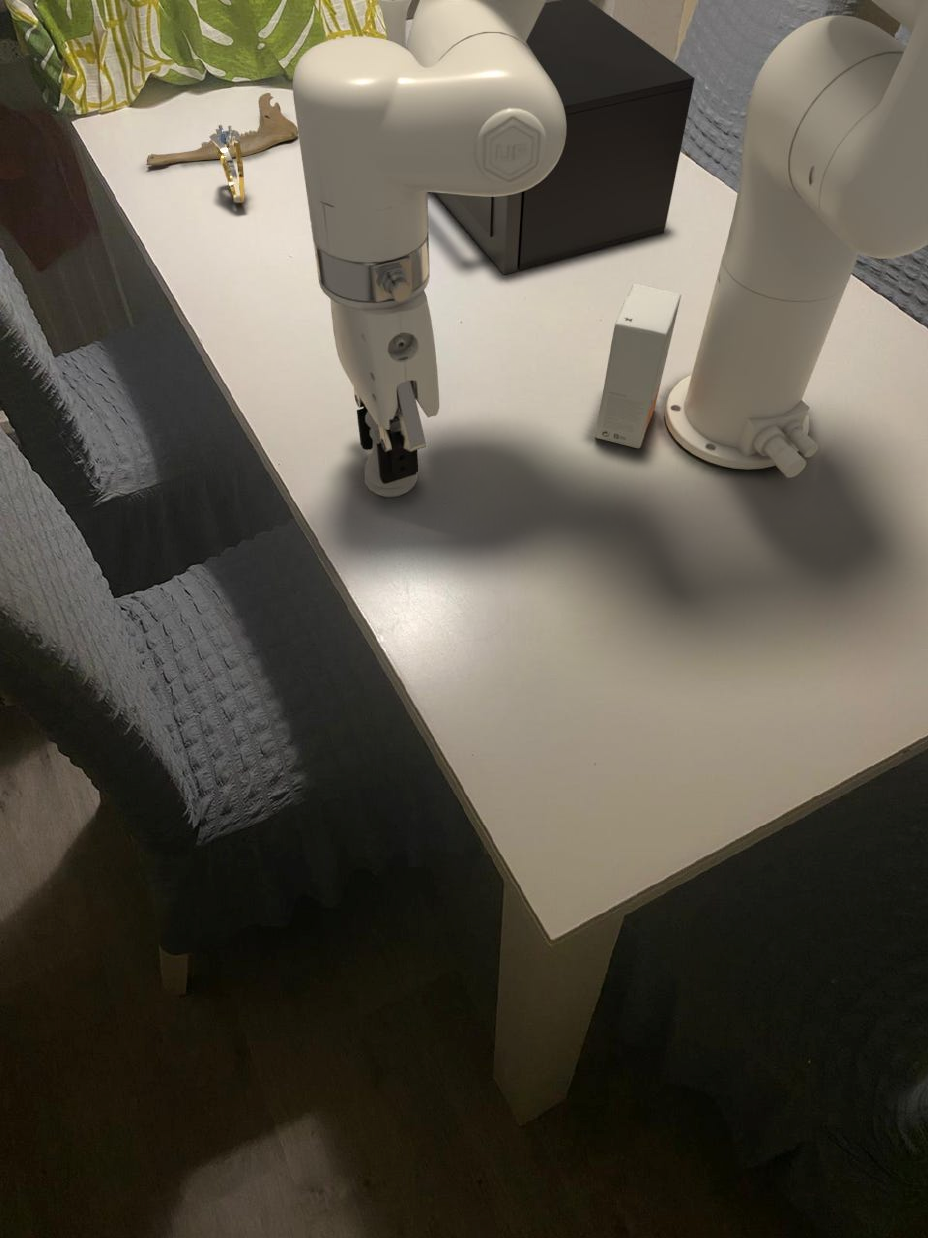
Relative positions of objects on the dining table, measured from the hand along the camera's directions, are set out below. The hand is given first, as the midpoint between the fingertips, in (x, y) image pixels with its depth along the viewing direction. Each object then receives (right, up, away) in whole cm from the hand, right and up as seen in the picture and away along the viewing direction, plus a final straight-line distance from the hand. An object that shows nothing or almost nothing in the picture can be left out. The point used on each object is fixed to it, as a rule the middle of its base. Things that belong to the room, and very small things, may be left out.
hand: (389, 458), depth 74 cm
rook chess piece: (0, -2, +2) cm, 3 cm away
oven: (+16, +34, +29) cm, 47 cm away
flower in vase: (-3, +51, +41) cm, 65 cm away
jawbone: (-24, +46, +37) cm, 64 cm away
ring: (-20, +35, +29) cm, 49 cm away
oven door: (+5, +31, +26) cm, 40 cm away
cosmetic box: (+21, +4, +7) cm, 22 cm away
